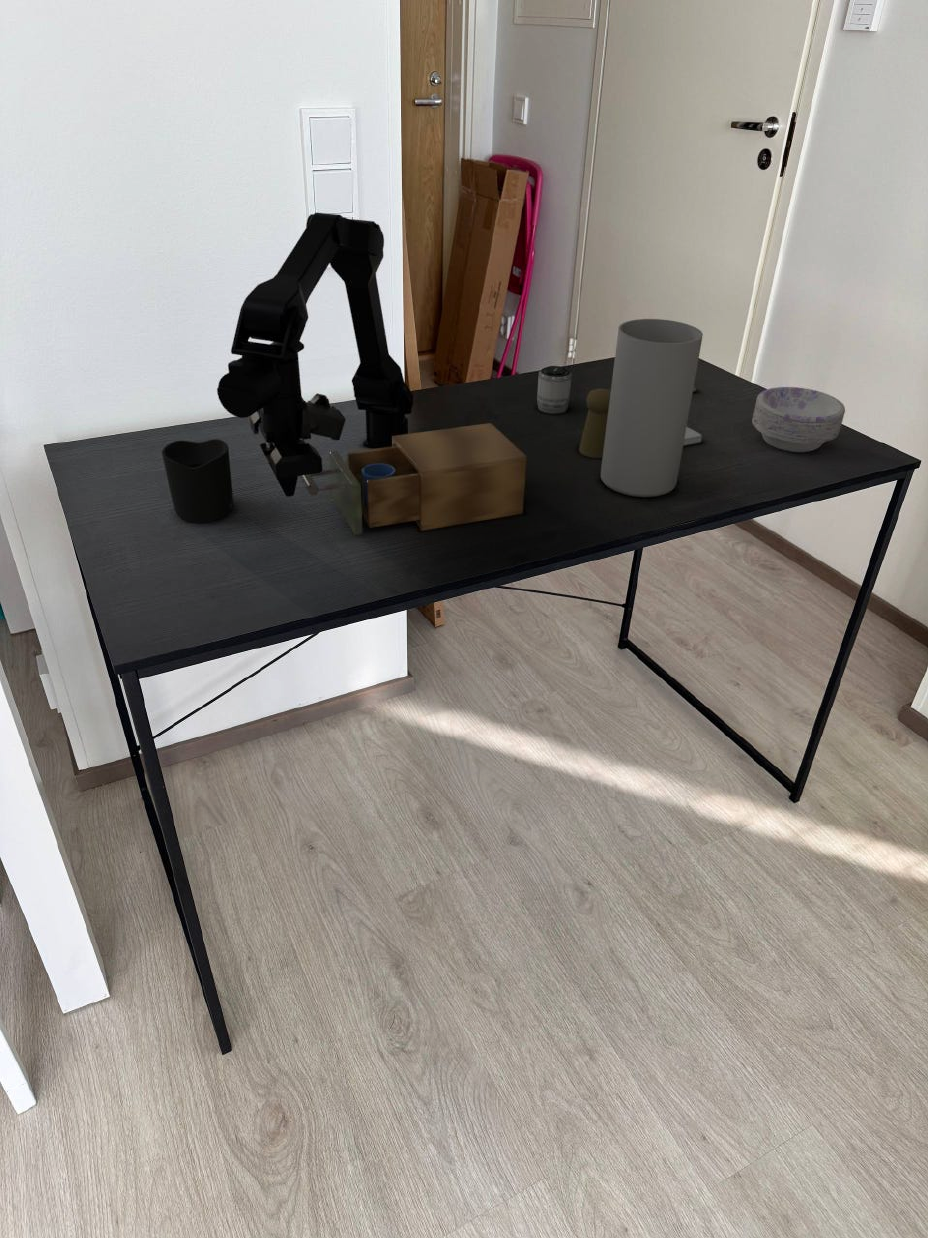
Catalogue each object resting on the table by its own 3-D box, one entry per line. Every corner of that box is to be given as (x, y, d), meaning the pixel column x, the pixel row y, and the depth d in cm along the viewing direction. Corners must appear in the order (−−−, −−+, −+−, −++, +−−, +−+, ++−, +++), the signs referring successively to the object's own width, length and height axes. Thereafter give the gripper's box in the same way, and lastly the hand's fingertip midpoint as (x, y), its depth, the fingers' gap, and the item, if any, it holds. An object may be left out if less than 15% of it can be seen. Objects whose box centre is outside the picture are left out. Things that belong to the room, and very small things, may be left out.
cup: (358, 507, 135) (356, 474, 132) (370, 493, 139) (369, 461, 136) (388, 513, 134) (387, 479, 131) (400, 499, 138) (399, 466, 134)
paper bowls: (786, 465, 156) (797, 421, 152) (731, 432, 168) (739, 391, 163) (852, 452, 162) (865, 410, 157) (795, 421, 173) (805, 381, 169)
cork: (611, 459, 156) (619, 398, 150) (577, 456, 157) (583, 395, 151) (614, 446, 161) (621, 386, 155) (580, 442, 162) (586, 383, 156)
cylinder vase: (592, 490, 146) (610, 336, 132) (609, 461, 156) (627, 314, 142) (669, 504, 143) (696, 348, 129) (681, 473, 152) (707, 324, 138)
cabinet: (421, 531, 134) (421, 471, 128) (393, 492, 144) (391, 435, 138) (522, 513, 139) (526, 456, 133) (488, 477, 149) (490, 422, 144)
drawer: (317, 541, 128) (313, 491, 124) (297, 503, 138) (293, 456, 133) (454, 518, 135) (455, 470, 131) (425, 483, 145) (425, 438, 140)
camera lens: (570, 404, 178) (574, 365, 173) (566, 416, 172) (569, 376, 168) (538, 401, 179) (541, 362, 174) (533, 412, 174) (536, 372, 169)
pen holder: (204, 531, 132) (194, 468, 126) (159, 514, 136) (148, 452, 130) (249, 506, 138) (241, 446, 133) (205, 491, 142) (196, 431, 137)
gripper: (356, 408, 117) (361, 515, 125) (320, 362, 131) (327, 461, 140) (271, 419, 113) (282, 528, 122) (243, 371, 127) (255, 471, 136)
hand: (289, 495), depth 130 cm, fingers closed
